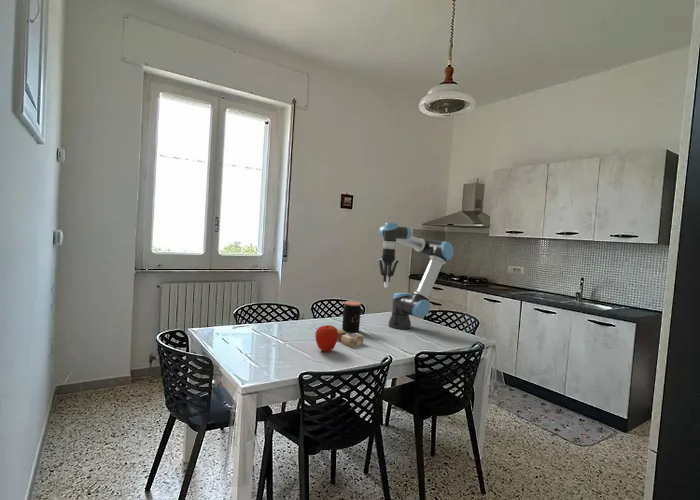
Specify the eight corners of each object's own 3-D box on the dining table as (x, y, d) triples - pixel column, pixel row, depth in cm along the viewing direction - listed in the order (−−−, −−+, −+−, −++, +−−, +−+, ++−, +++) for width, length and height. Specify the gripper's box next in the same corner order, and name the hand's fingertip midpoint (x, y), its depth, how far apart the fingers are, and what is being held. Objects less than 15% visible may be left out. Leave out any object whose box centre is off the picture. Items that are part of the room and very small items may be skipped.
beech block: (356, 332, 226) (341, 335, 219) (363, 335, 221) (348, 337, 214) (356, 341, 226) (341, 344, 219) (363, 344, 222) (347, 347, 215)
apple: (325, 345, 214) (327, 320, 213) (342, 351, 206) (344, 324, 206) (309, 350, 204) (311, 323, 204) (326, 356, 197) (328, 328, 196)
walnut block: (346, 331, 227) (331, 327, 234) (339, 333, 223) (325, 328, 229) (345, 340, 228) (331, 335, 234) (338, 342, 223) (324, 337, 230)
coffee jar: (352, 334, 239) (354, 305, 238) (338, 330, 245) (340, 302, 244) (362, 331, 247) (364, 303, 246) (348, 327, 254) (351, 300, 253)
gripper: (396, 248, 241) (393, 286, 243) (376, 247, 237) (373, 286, 239) (401, 249, 234) (398, 288, 236) (381, 248, 230) (378, 288, 231)
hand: (386, 287), depth 237 cm, fingers closed
